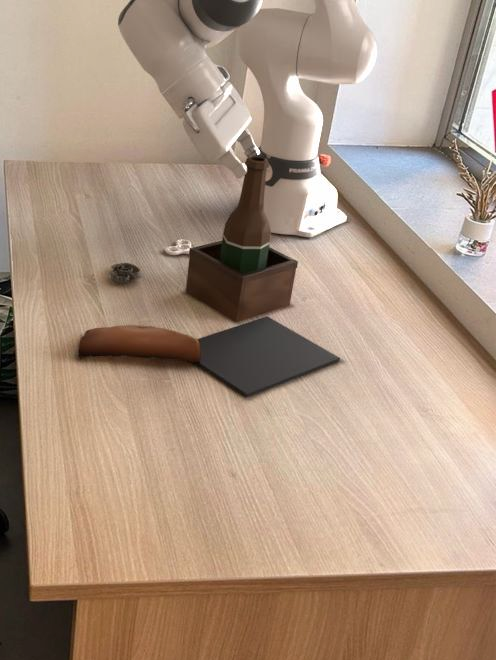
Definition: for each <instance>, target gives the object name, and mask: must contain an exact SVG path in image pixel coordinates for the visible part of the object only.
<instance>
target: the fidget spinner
mask: <svg viewBox="0 0 496 660" xmlns="http://www.w3.org/2000/svg"><path fill="white" fill-rule="evenodd" d="M193 247H194V246H192V242H191V241H190V240H188V239H178V240H176V241H175V245H169V246H167V247H166V248H165V249H164V251H165V253H166V254H167V255H170V256H177V255H181V254H184V255H189V250H190V248H193Z"/></svg>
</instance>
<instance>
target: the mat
mask: <svg viewBox="0 0 496 660" xmlns="http://www.w3.org/2000/svg"><path fill="white" fill-rule="evenodd" d="M197 339H198V340H199V344H200V349H201V364H200V363H198V362H192V363H193V364H195V365H196V366H198V367H199V368H201V369H203V370H204V371H205V372H207V373H208V374H210V375H211V376H213V377H214V378H216V379H218V380H219V381H221V382H222V383H224V384H225V385H227V386H228V387H229V388H231V389H233V390H234V391H236V392H237V393H239V394H240V395H242V396H244V397H245V398H249V397H251V396H254V395H257V394H259V393H263V392H265V391H267V390H269V389H272V388H274V387H277V386H280V385H282V384H284V383H288V382H290V381H293V380H295V379H297V378H300V377H303V376H305V375H307V374H311V373H313V372H315V371H318V370H320V369H323V368H325V367H328V366H331V365H333V364H336V363H338V362H340V360H341V357H339V356H338V355H335V354H334V353H332V352H330V351H328V350H327V349H325V348H323V347H322V346H320V345H318V344H317V343H315V342H313V341H311V340H309V339H308V338H306V337H305V336H302V335H301V334H299V333H297V332H295V331H294V330H292V329H290V328H289V327H287V326H285V325H284V324H282V323H280V322H279V321H276V320H275V319H273V318H271V317H269V316H263V317H261V318H258V319H254V320H252V321H248V322H246V323H242V324H239V325H236V326H233V327H230V328H227V329H224V330H221V331H218V332H215V333H211V334H208V335H205V336H202V337H200V338H197Z"/></svg>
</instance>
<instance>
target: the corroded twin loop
mask: <svg viewBox="0 0 496 660" xmlns="http://www.w3.org/2000/svg"><path fill="white" fill-rule="evenodd" d="M110 268H111V269H112V271H110V272H108V276H109V277H110V280H111V281H112V282H113V283H114V284H117V285H121V286H123V285H128V284H132V283H134V282H135V280H136V279H137V276H138V275H139V272H140V271H141V269H140V268H139V267H138V266H136V265H135V264H132V263H129V262H119V263H115V264H112V265H111V266H110Z"/></svg>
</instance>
